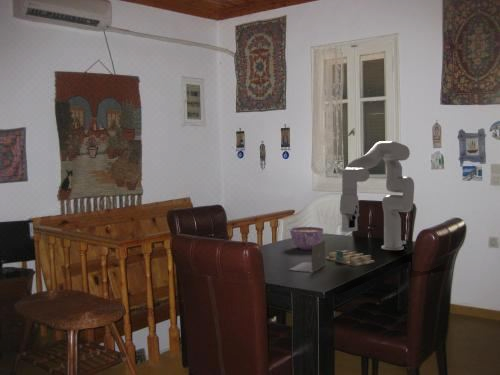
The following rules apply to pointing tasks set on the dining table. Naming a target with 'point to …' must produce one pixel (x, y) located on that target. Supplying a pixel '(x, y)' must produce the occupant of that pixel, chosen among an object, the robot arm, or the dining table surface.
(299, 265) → the laptop
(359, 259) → the bay rack
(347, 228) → the grey rectangular block
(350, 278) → the dining table surface
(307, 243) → the bowl of food
